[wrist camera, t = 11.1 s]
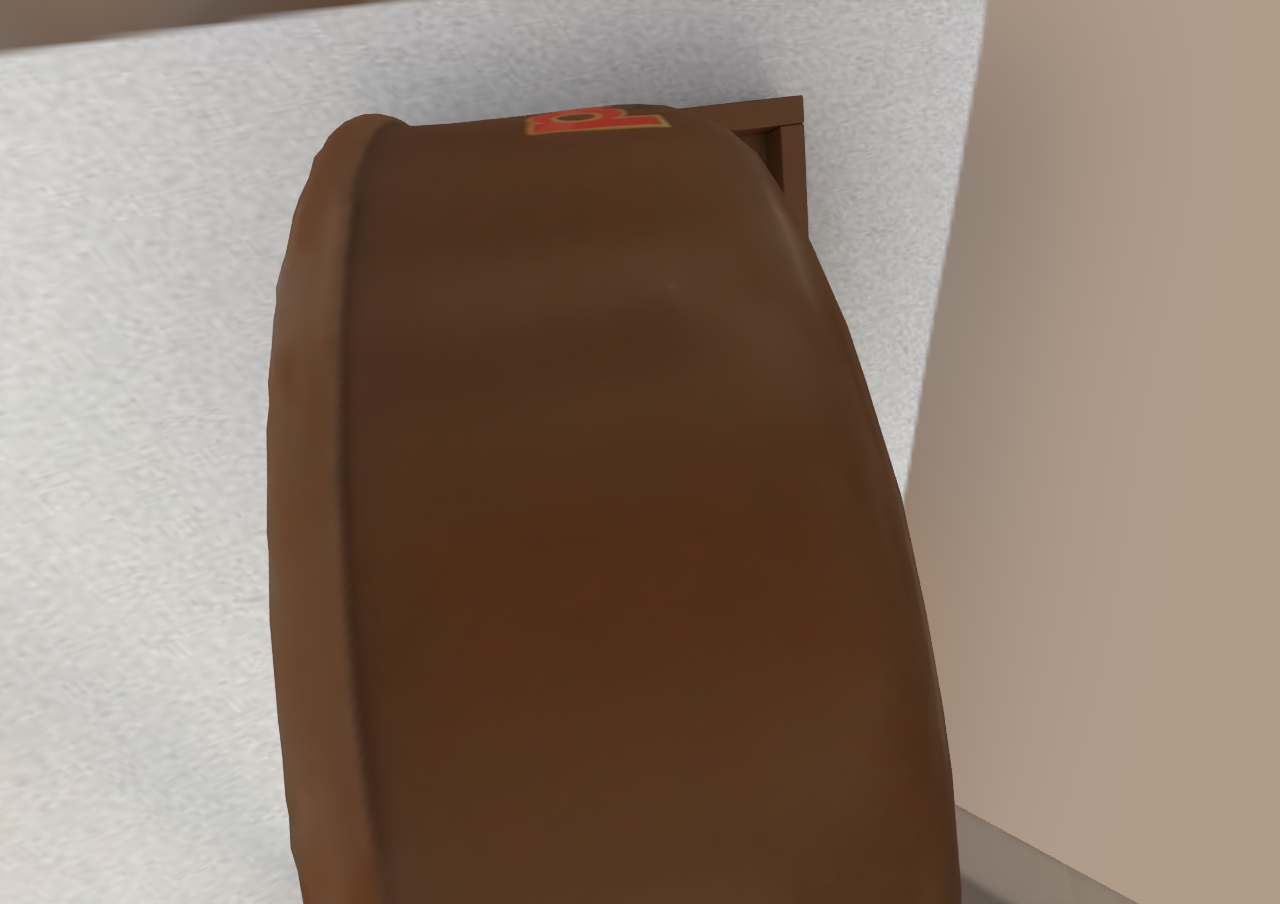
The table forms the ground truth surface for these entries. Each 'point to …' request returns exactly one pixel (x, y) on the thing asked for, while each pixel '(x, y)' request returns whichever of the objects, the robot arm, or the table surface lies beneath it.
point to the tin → (587, 534)
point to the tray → (770, 140)
